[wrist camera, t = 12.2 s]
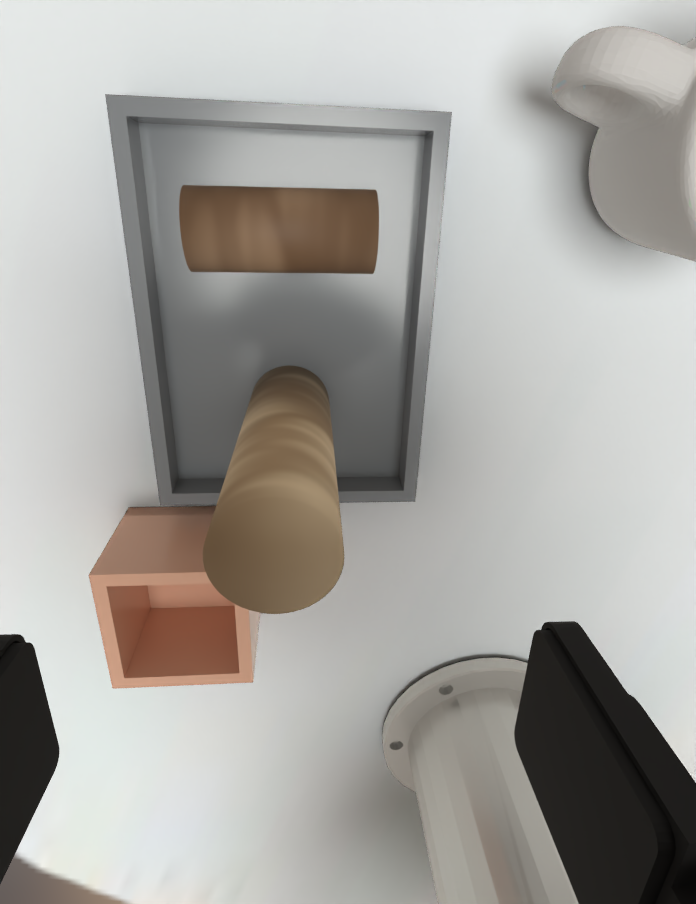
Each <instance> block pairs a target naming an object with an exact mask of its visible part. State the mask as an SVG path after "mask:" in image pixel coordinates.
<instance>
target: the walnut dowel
mask: <svg viewBox="0 0 696 904" xmlns="http://www.w3.org/2000/svg"><path fill="white" fill-rule="evenodd" d="M179 220H180V232H181V240H182V246H183V251H184V256H185V260H186V263H187V266H188V268H189V270H190V271H191V272H250V273H341V274H373V273H374V271H375V267H376V262H377V254H378V241H379V203H378V195H377V191H376V190H370V189H329V188H288V187H247V186H206V185H183V186H182V187H181V191H180V198H179Z"/></svg>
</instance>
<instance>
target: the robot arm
mask: <svg viewBox="0 0 696 904" xmlns="http://www.w3.org/2000/svg"><path fill="white" fill-rule="evenodd" d="M382 741H383V749H384V756H385V759H386V763H387V766H388V768H389V769H390V771H391V773H392V774H393V776H394V777H395V778H396V779H397V780H398V781H399V782H400V783H401V784H402V785H404V786H405V787H407V788H408V789H410V790H412V791H413V792H415V793H416V796H417V801H418V806H419V811H420V816H421V821H422V826H423V831H424V836H425V841H426V846H427V851H428V856H429V861H430V866H431V871H432V876H433V881H434V886H435V891H436V896H437V901H438V904H696V783H695V781H694V780H693V778H692V777H691V775H690V774H689V773H688V771H687V770H686V768H685V767H684V766H683V764H682V763H681V761H680V760H679V758H678V757H677V756H676V754H675V753H674V751H673V750H672V749H671V747H670V746H669V744H668V743H667V742H666V740H665V739H664V737H663V736H662V734H661V733H660V732H659V730H658V729H657V727H656V726H655V725H654V723H653V722H652V720H651V719H650V717H649V716H648V715H647V713H646V712H645V710H644V709H643V708H642V706H641V705H640V704H639V703H638V701H637V700H636V699H635V698H634V697H632V696H631V695H629V694H628V693H627V692H626V691H625V689H624V688H623V686H622V685H621V683H620V682H619V680H618V679H617V678H616V676H615V675H614V673H613V672H612V670H611V669H610V668H609V666H608V665H607V663H606V662H605V660H604V659H603V657H602V656H601V655H600V653H599V652H598V650H597V649H596V647H595V646H594V645H593V643H592V642H591V640H590V639H589V637H588V636H587V634H586V633H585V632H584V630H583V629H582V627H581V626H580V625H579V624H578V623H576V622H546V623H544V625H543V626H542V629H541V630H536V631H535V632H534V635H533V640H532V645H531V650H530V655H529V660H528V663H526V662H522V661H519V660H514V659H505V658H478V659H473V660H467V661H462V662H458V663H455V664H452V665H449V666H446V667H443V668H441V669H439V670H437V671H435V672H433V673H431V674H429V675H427V676H425V677H423V678H422V679H420V680H419V681H418V682H416V683H415V684H413V685H412V686H410V687H409V688H408V689H407V690H406V691H405V692H404V693H403V694H402V695H401V696H400V697H399V698H398V699H397V701H396V702H395V704H394V705H393V706H392V708H391V709H390V711H389V713H388V715H387V718H386V720H385V722H384V726H383V733H382ZM58 758H59V745H58V741H57V737H56V733H55V729H54V725H53V721H52V717H51V713H50V709H49V705H48V701H47V697H46V693H45V689H44V685H43V681H42V677H41V673H40V669H39V665H38V661H37V657H36V653H35V649H34V647H33V645H32V644H31V643H26V642H25V640H24V638H23V637H22V636H21V635H18V634H12V635H0V884H1V882H2V879H3V877H4V875H5V873H6V871H7V869H8V867H9V865H10V863H11V861H12V859H13V857H14V855H15V852H16V850H17V848H18V846H19V844H20V842H21V840H22V838H23V836H24V834H25V832H26V830H27V827H28V825H29V823H30V821H31V819H32V817H33V815H34V813H35V811H36V809H37V807H38V805H39V803H40V800H41V798H42V796H43V794H44V792H45V790H46V788H47V786H48V784H49V782H50V780H51V778H52V776H53V773H54V771H55V769H56V766H57V763H58Z"/></svg>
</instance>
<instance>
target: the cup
mask: <svg viewBox="0 0 696 904" xmlns="http://www.w3.org/2000/svg"><path fill="white" fill-rule="evenodd" d="M551 91H552V96H553V99H554V100H555V102H556V103H557V104H558V105H559V106H560V107H561V108H562V109H564V110H566V111H567V112H569V113H570V114H572V115H574V116H576V117H578V118H580V119H582V120H584V121H586V122H589V123H591V124H593V125H595V126H597V127H599V129H598V131H597V134H596V136H595V139H594V142H593V146H592V150H591V154H590V160H589V186H590V192H591V196H592V199H593V203H594V205H595V207H596V209H597V211H598V213H599V215H600V216H601V218H602V219H603V221H604V222H605V223H606V224H607V225H608V226H609V227H610V228H611V229H612V230H613V231H614V232H615V233H617V234H618V235H620V236H621V237H623V238H624V239H626V240H628V241H630V242H633V243H635V244H638V245H641V246H644V247H647V248H650V249H654V250H657V251H661V252H664V253H668V254H671V255H675V256H678V257H682V258H685V259H689V260H692V261H696V37H695V38H694V39H692V40H690V41H689V42H687V43H686V44H684V45H681V44H679V43H677V42H675V41H672V40H670V39H668V38H665V37H663V36H661V35H658V34H656V33H653V32H650V31H646V30H642V29H638V28H633V27H625V26H615V27H608V28H602V29H598V30H595V31H593V32H590V33H588V34H586V35H585V36H583V37H581V38H580V39H578V40H577V41H576V42H574V43H573V45H572V46H571V47H570V48H569V49H568V50H567V51H566V53H565V54H564V56H563V58H562V60H561V62H560V64H559V66H558V68H557V70H556V72H555V75H554V78H553V82H552V88H551Z"/></svg>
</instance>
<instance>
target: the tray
mask: <svg viewBox="0 0 696 904" xmlns="http://www.w3.org/2000/svg"><path fill="white" fill-rule="evenodd" d="M105 95H106V103H107V110H108V118H109V125H110V133H111V140H112V148H113V155H114V163H115V170H116V178H117V185H118V193H119V200H120V208H121V215H122V223H123V230H124V238H125V245H126V253H127V260H128V268H129V275H130V283H131V290H132V298H133V305H134V313H135V320H136V327H137V335H138V342H139V350H140V357H141V365H142V372H143V380H144V387H145V395H146V402H147V410H148V417H149V425H150V432H151V440H152V447H153V455H154V462H155V470H156V477H157V485H158V492H159V500H160V505H214V504H217V502H218V499H219V496H220V492H221V489H222V486H223V483H224V480H225V477H226V474H227V471H228V467H229V464H230V461H231V458H232V455H233V452H234V449H235V446H236V443H237V439H238V436H239V433H240V430H241V427H242V424H243V421H244V418H245V414H246V411H247V408H248V405H249V402H250V399H251V396H252V393H253V389H254V387H255V385H256V383H257V382H258V380H259V379H260V378H261V377H262V376H263V375H264V374H265V373H267V372H268V371H270V370H272V369H274V368H277V367H281V366H298V367H302V368H305V369H307V370H309V371H311V372H312V373H314V374H315V375H316V376H317V377H318V378H319V379H320V380H321V381H322V382H323V384H324V385H325V387H326V389H327V392H328V396H329V404H330V414H331V424H332V434H333V445H334V455H335V465H336V475H337V486H338V496H339V503H349V502H415V498H416V487H417V476H418V466H419V455H420V444H421V434H422V423H423V413H424V402H425V391H426V381H427V370H428V359H429V349H430V338H431V328H432V317H433V306H434V296H435V285H436V274H437V264H438V253H439V242H440V232H441V221H442V211H443V200H444V189H445V179H446V168H447V157H448V147H449V136H450V126H451V115H452V112H440V111H420V110H401V109H381V108H362V107H342V106H323V105H303V104H284V103H265V102H245V101H226V100H206V99H187V98H167V97H148V96H128V95H109V94H105ZM183 185H206V186H247V187H288V188H329V189H370V190H376V191H377V195H378V203H379V241H378V254H377V262H376V267H375V271H374V273H373V274H341V273H250V272H191V271H190V270H189V268H188V266H187V263H186V260H185V256H184V251H183V246H182V240H181V232H180V220H179V198H180V191H181V187H182V186H183Z"/></svg>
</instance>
